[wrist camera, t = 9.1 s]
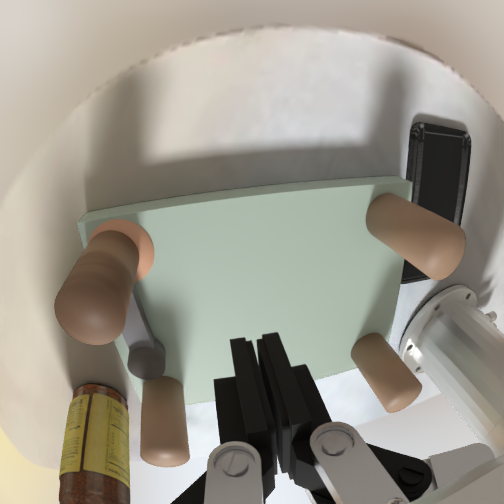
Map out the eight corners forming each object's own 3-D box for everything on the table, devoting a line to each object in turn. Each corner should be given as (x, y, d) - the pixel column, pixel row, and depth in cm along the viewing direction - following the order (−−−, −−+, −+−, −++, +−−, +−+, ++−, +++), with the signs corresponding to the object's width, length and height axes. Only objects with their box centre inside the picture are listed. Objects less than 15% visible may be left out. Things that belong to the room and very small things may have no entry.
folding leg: (174, 360, 23) (178, 427, 17) (132, 367, 23) (126, 433, 17) (131, 224, 19) (110, 274, 13) (79, 236, 18) (43, 288, 12)
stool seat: (394, 175, 24) (477, 209, 16) (373, 345, 32) (419, 405, 23) (86, 212, 20) (35, 273, 12) (144, 391, 28) (143, 472, 19)
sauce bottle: (81, 415, 28) (66, 579, 10) (66, 377, 25) (33, 565, 8) (137, 419, 29) (143, 591, 12) (128, 381, 27) (126, 584, 9)
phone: (472, 133, 23) (449, 275, 29) (464, 131, 24) (442, 270, 30) (414, 121, 22) (393, 286, 28) (406, 120, 23) (387, 280, 29)
